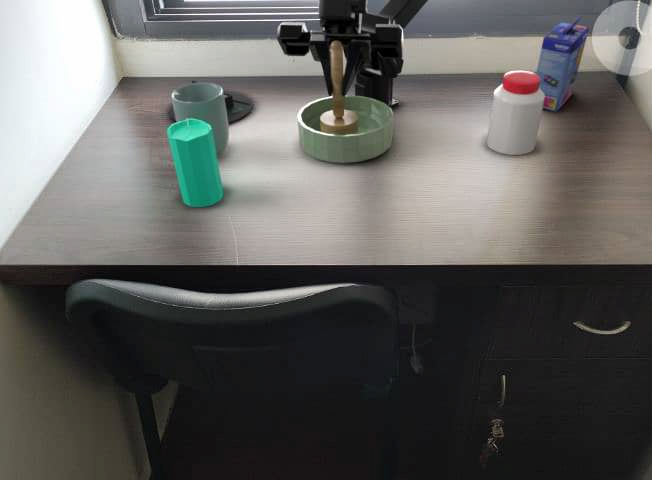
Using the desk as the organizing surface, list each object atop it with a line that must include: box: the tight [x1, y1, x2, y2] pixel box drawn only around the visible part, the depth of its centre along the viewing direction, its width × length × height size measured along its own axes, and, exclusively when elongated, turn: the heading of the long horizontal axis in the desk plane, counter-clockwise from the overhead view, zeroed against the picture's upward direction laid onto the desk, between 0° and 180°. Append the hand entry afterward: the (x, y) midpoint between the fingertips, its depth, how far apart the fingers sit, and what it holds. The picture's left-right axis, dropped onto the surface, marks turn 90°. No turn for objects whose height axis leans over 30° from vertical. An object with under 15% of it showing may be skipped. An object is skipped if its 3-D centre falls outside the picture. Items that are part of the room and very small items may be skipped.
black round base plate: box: [169, 80, 254, 125], centre depth 109 cm, size 15×15×6 cm
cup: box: [171, 82, 230, 157], centre depth 95 cm, size 8×8×10 cm
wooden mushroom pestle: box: [320, 41, 358, 135], centre depth 92 cm, size 6×6×14 cm
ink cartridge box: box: [535, 15, 590, 113], centre depth 106 cm, size 10×6×14 cm, turn 148°
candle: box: [166, 118, 225, 208], centre depth 84 cm, size 6×6×12 cm
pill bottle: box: [486, 69, 545, 156], centre depth 95 cm, size 8×8×11 cm
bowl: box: [296, 94, 394, 164], centre depth 98 cm, size 15×15×5 cm
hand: (336, 95), depth 91 cm, fingers closed on wooden mushroom pestle
